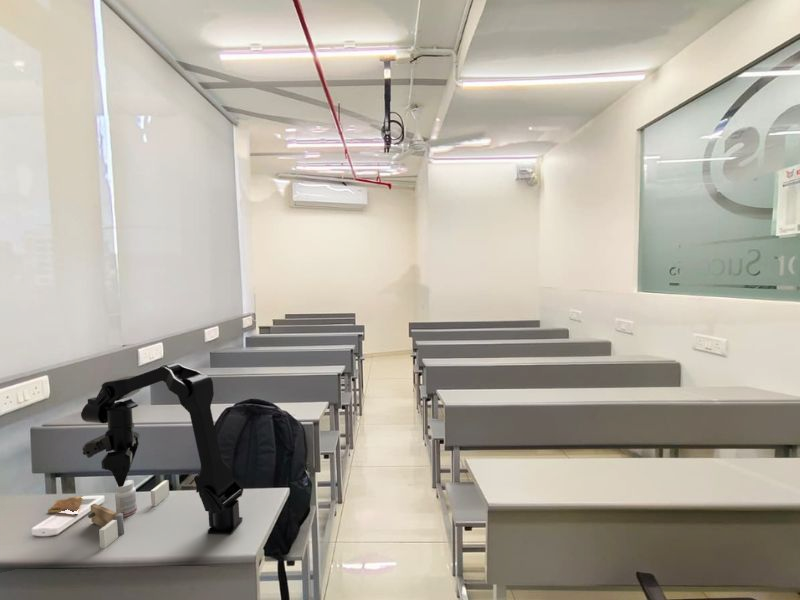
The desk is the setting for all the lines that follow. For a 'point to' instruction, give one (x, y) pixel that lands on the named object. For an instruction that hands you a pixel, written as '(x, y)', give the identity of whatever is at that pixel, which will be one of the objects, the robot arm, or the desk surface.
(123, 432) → the robot arm
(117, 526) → the pair of white blocks
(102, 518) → the wooden plank
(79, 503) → the shard
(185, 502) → the desk surface
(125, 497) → the pill bottle
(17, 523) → the desk surface
